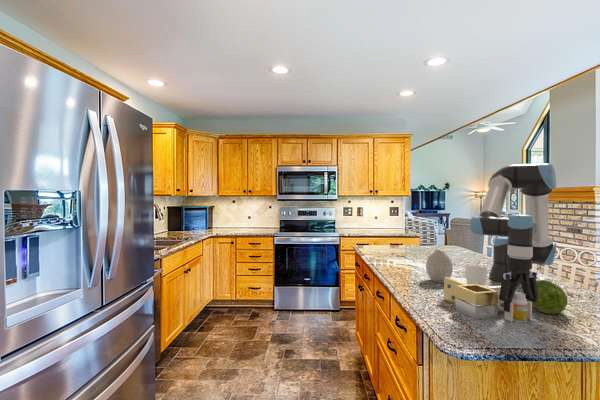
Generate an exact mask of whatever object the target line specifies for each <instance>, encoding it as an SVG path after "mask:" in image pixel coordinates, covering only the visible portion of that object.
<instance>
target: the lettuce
mask: <svg viewBox="0 0 600 400" xmlns="http://www.w3.org/2000/svg"><path fill="white" fill-rule="evenodd" d="M536 283H537V292H538V299H536V302H533V308H536V309H537V311H539V312H541V313H543V314H547V315H558V314H560V313H562V312H563V311H564V310H566V307H567V306H568V296H567V294H566V292H565V290H563V289H562V288H561V287H560V286H559V285H556V284H555V283H553V282H552V281H549V280H545V279H542V280H541V279H539V280H538V279H537V280H536ZM533 295H534V294H533Z"/></svg>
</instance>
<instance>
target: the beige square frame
mask: <svg viewBox="0 0 600 400" xmlns="http://www.w3.org/2000/svg"><path fill="white" fill-rule="evenodd" d="M487 287H488V286H485V287H484V286H481V285H478V284H470V285H468V284H467V283H465V282H462V281H460V280H458V279H454V278H453V277H452V278H451V277H450V278H449V277H444V283H443V300H445V301H447V302H450V303H451V304H453V305H455V306H456V298H459V299H462V300H464V301H466V302H469V303H471V304H473V305H475V306H478V305H488V304H498V291H495V290H492V289H490V288H487Z"/></svg>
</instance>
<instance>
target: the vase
mask: <svg viewBox="0 0 600 400" xmlns="http://www.w3.org/2000/svg"><path fill="white" fill-rule="evenodd" d="M453 269H454V265H453V262H452V259H451V258H450V256H449V255H448V254H447V253H446V251H444V249H441V248H438V249H435V250H434V251H433V252H431V254H430V255H429V256H428V258H427V259H426V263H425V271H426V274H427V275H428V278H429V279H430V280H431V281H432V282H434V283H437V284H444V277H449V278H451V277H452V274H453V273H454V272H453Z"/></svg>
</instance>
